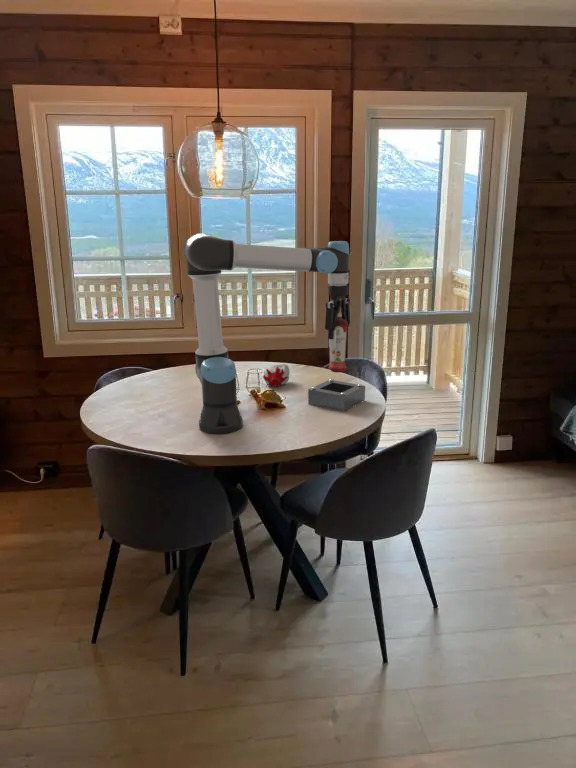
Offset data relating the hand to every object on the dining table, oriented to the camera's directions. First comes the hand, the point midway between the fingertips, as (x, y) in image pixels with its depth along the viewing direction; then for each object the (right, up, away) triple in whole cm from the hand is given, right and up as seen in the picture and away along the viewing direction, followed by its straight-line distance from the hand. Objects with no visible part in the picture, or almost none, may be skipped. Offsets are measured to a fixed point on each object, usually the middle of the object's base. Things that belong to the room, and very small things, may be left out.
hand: (337, 345), depth 222 cm
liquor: (0, -10, +3) cm, 10 cm away
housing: (0, -22, +6) cm, 23 cm away
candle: (-24, -16, +29) cm, 41 cm away
